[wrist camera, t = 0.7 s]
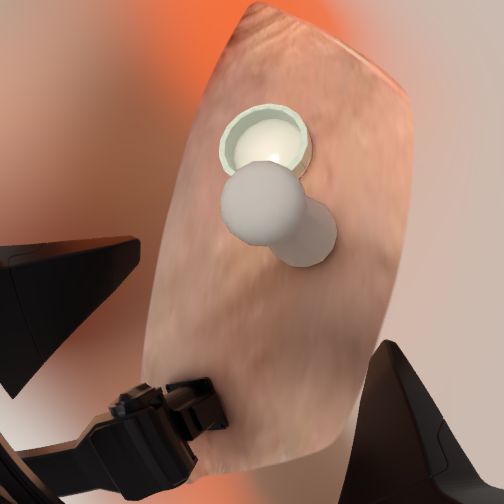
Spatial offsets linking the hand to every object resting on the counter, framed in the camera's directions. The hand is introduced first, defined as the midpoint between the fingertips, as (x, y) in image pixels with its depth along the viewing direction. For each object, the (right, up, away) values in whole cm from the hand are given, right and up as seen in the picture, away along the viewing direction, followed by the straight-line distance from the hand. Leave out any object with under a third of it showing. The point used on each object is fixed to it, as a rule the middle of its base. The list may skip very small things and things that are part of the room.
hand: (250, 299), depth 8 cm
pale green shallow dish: (+2, +12, +18) cm, 21 cm away
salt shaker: (+5, +3, +16) cm, 17 cm away
